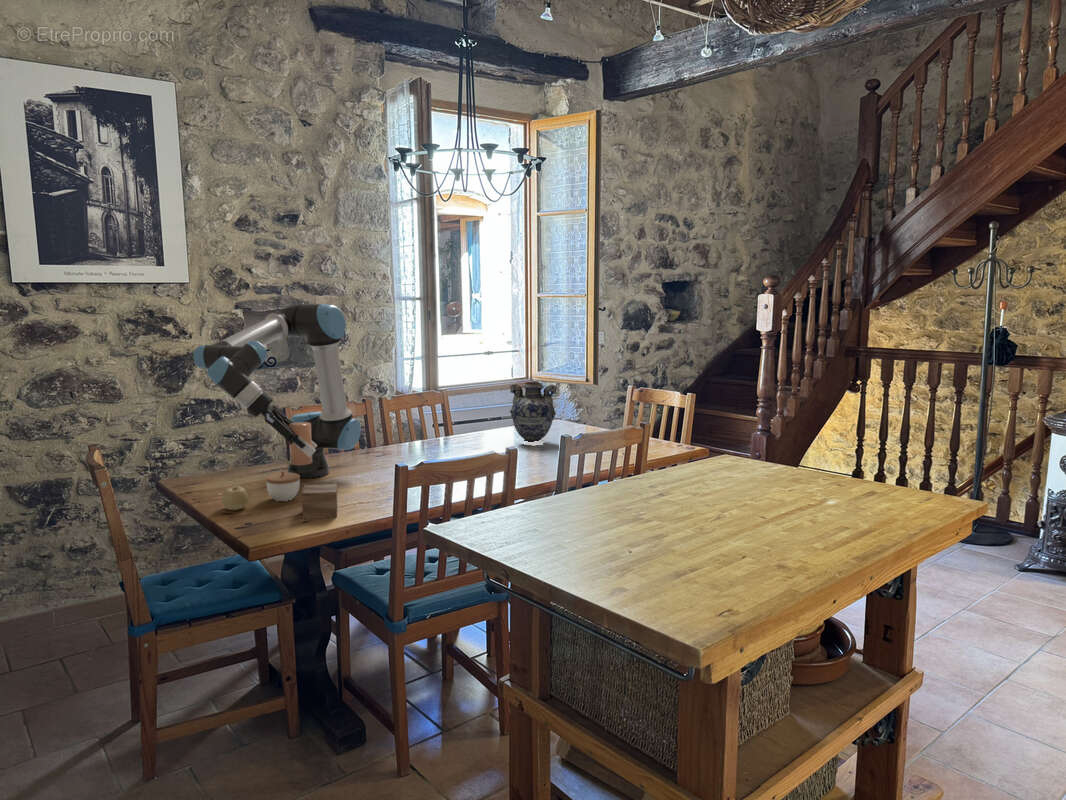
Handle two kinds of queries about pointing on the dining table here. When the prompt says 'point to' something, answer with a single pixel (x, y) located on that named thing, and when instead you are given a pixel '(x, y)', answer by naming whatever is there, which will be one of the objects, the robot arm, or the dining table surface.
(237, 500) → the apple
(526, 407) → the decorative vase
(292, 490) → the lidded jar
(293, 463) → the dome-topped peach cylinder
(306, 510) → the walnut crate
